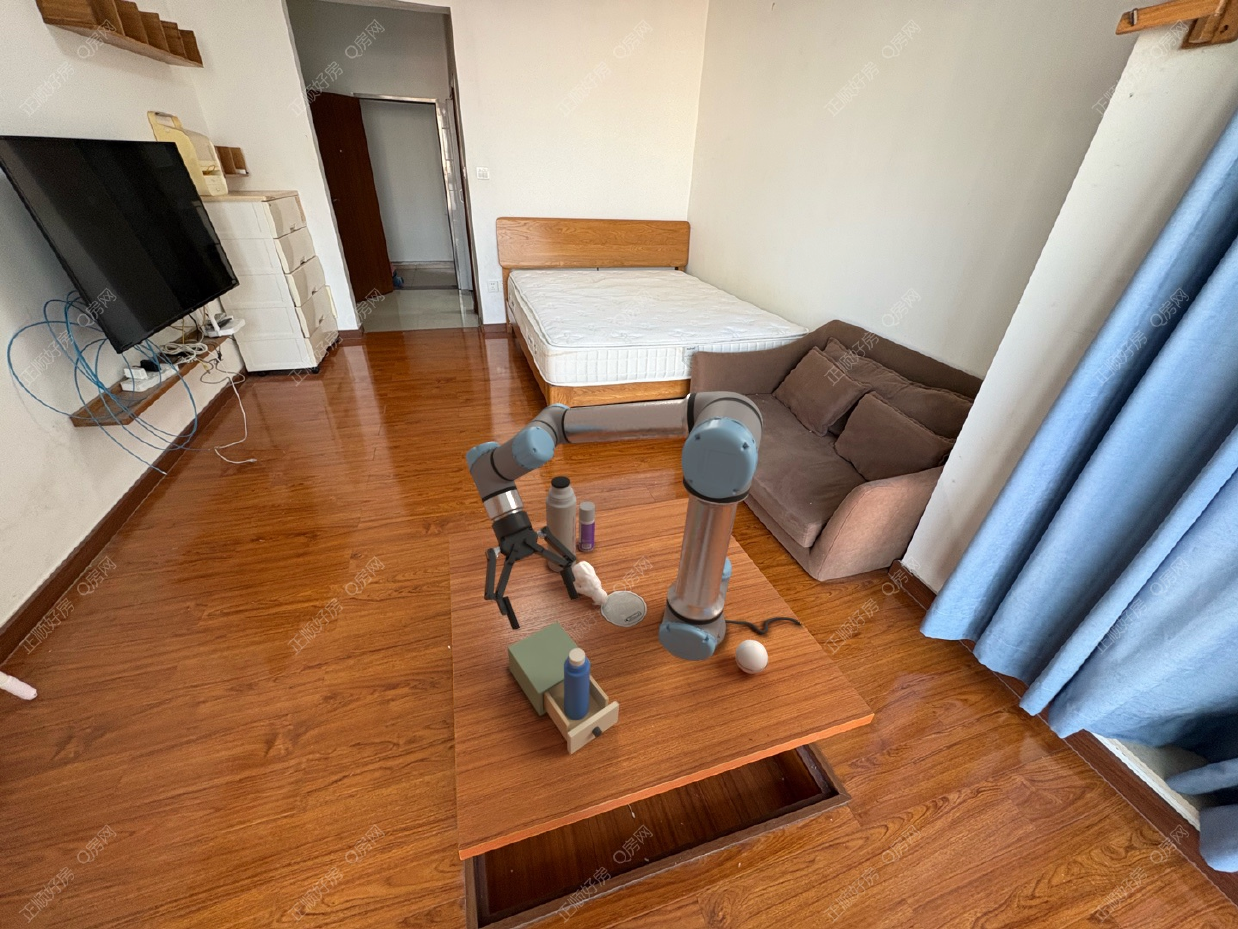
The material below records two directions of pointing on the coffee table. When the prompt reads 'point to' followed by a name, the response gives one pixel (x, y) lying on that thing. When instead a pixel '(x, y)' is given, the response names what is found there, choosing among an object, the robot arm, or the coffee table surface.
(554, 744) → the coffee table surface
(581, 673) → the bottle
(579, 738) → the drawer
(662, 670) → the coffee table surface
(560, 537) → the thermos bottle
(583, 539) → the container
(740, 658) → the white oval solid
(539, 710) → the cabinet
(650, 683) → the coffee table surface
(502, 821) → the coffee table surface
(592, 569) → the white sculpted piece
